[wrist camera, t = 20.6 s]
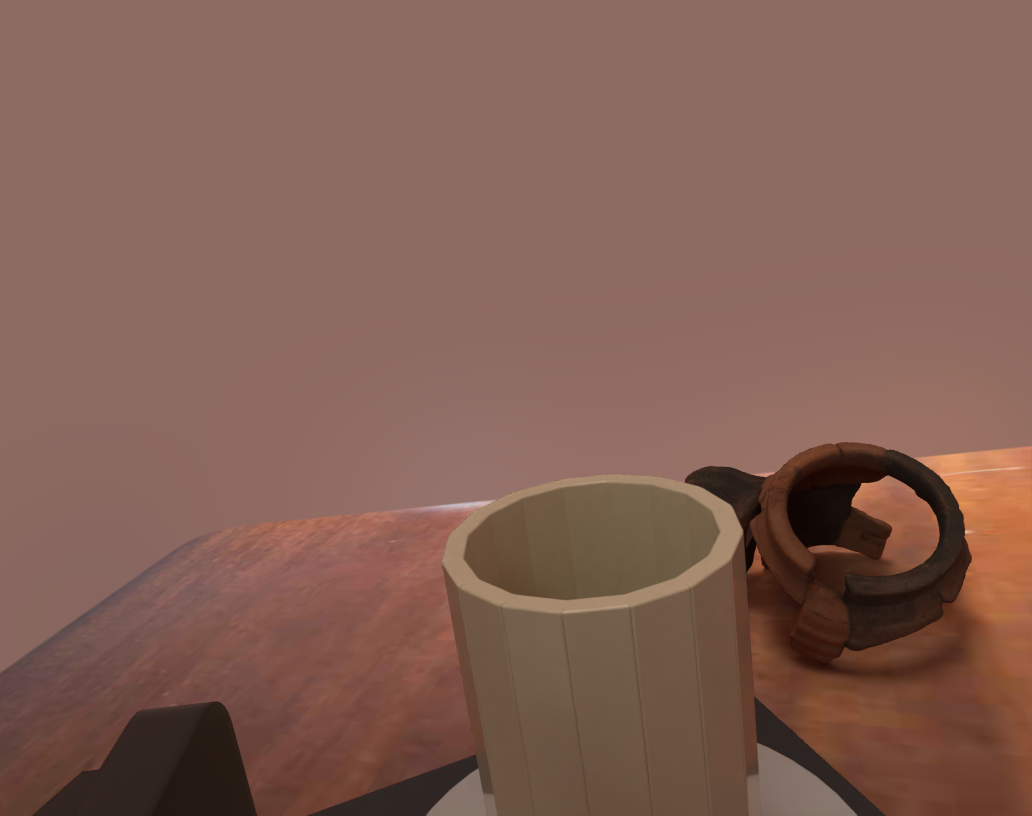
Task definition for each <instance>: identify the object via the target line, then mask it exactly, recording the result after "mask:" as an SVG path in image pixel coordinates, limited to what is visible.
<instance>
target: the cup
mask: <svg viewBox="0 0 1032 816" xmlns="http://www.w3.org/2000/svg"><path fill="white" fill-rule="evenodd" d="M442 567H443V573H444V579H445V584H446V590H447V595H448V601H449V606H450V612H451V618H452V623H453V629H454V634H455V640H456V646H457V651H458V657H459V662H460V668H461V674H462V679H463V685H464V690H465V696H466V702H467V707H468V713H469V718H470V724H471V730H472V735H473V741H474V746H475V752H476V758H477V763H478V769H479V774H480V780H481V786H482V791H483V797H484V802H485V808H486V814H487V816H762V813H761V798H760V782H759V766H758V751H757V735H756V719H755V704H754V688H753V672H752V657H751V641H750V625H749V610H748V594H747V578H746V563H745V547H744V532H743V529H742V527H741V525H740V522H739V520H738V518H737V516H736V514H735V511H734V509H733V507H732V506H731V505H730V504H729V503H727V502H725V501H724V500H722V499H720V498H719V497H717V496H715V495H714V494H712V493H710V492H709V491H707V490H705V489H704V488H701V487H699V486H696V485H691V484H687V483H683V482H679V481H675V480H671V479H667V478H662V477H657V476H638V475H616V474H611V475H608V474H607V475H598V476H588V477H581V478H580V477H579V478H570V479H561V480H557V481H553V482H549V483H545V484H542V485H538V486H534V487H531V488H527V489H523V490H520V491H516V492H513V493H510V494H509V495H506V496H504V497H502V498H500V499H498V500H496V501H494V502H492V503H490V504H488V505H486V506H484V507H482V508H480V509H478V510H476V511H475V512H473V513H472V514H471V515H469V516H468V517H467V518H466V519H465V520H464V521H463V522H462V523H461V524H460V525H459V526H458V527H457V528H456V529H455V530H454V531H453V532H452V533H450V534H449V536H448V539H447V543H446V547H445V551H444V555H443V559H442Z"/></svg>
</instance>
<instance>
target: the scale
mask: <svg viewBox="0 0 1032 816" xmlns="http://www.w3.org/2000/svg"><path fill="white" fill-rule="evenodd" d="M754 704H755V719H756V735H757V751H758V766H759V782H760V798H761V813H762V816H885V815H884V814H883V813H882V812H881V811H880V810H879V809H878V808H877V807H875V806H874V805H873V804H872V803H871V802H870V801H869V800H868V799H867V798H866V797H864V796H863V795H862V794H861V793H860V792H859V791H858V790H857V789H856V788H855V787H853V786H852V785H851V784H850V783H849V782H848V781H847V780H846V779H845V778H843V777H842V776H841V775H840V774H839V773H838V772H837V771H836V770H835V769H834V768H832V767H831V766H830V765H829V764H828V763H827V762H826V761H825V760H824V759H823V758H821V757H820V756H819V755H818V754H817V753H816V752H815V751H814V750H813V749H812V748H810V747H809V746H808V745H807V744H806V743H805V742H804V741H803V740H802V739H801V738H799V737H798V736H797V735H796V734H795V733H794V732H793V731H792V730H791V729H790V728H788V727H787V726H786V725H785V724H784V723H783V722H782V721H781V720H780V719H779V718H777V717H776V716H775V715H774V714H773V713H772V712H771V711H770V710H769V709H768V708H766V707H765V706H764V705H763V704H762V703H761V702H760V701H759V700H758V699H757V698H755V697H754ZM308 816H487V814H486V808H485V802H484V797H483V791H482V786H481V780H480V774H479V769H478V763H477V758H476V755H474V756H471V757H468V758H466V759H463V760H460V761H457V762H455V763H452V764H449V765H446V766H443V767H441V768H438V769H435V770H432V771H430V772H427V773H424V774H421V775H418V776H416V777H413V778H410V779H407V780H405V781H402V782H399V783H396V784H394V785H391V786H388V787H385V788H382V789H380V790H377V791H374V792H371V793H369V794H366V795H363V796H360V797H358V798H355V799H352V800H349V801H346V802H344V803H341V804H338V805H335V806H333V807H330V808H327V809H324V810H322V811H319V812H316V813H313V814H310V815H308Z"/></svg>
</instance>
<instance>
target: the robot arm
mask: <svg viewBox="0 0 1032 816" xmlns="http://www.w3.org/2000/svg"><path fill="white" fill-rule="evenodd" d="M33 816H257V814H256V810H255V806H254V803H253V799H252V795H251V792H250V788H249V784H248V780H247V777H246V773H245V769H244V766H243V762H242V758H241V754H240V751H239V747H238V743H237V740H236V736H235V732H234V728H233V725H232V721H231V718H230V716H229V713H228V711H227V709H226V708H225V706H224V705H223V704H221V703H220V702H207V703H198V704H190V705H181V706H173V707H164V708H155V709H147V710H141V711H139V712H137V713H136V714H135V715H134V716H133V717H132V718H131V720H130V721H129V723H128V724H127V726H126V727H125V729H124V731H123V732H122V734H121V735H120V737H119V739H118V740H117V742H116V743H115V745H114V747H113V748H112V750H111V752H110V753H109V755H108V756H107V758H106V760H105V761H104V763H103V764H102V766H101V768H100V769H99V770H92V771H83V772H81V773H80V774H79V775H78V776H77V777H76V778H74V779H73V780H72V781H71V782H70V783H69V784H68V785H66V786H65V787H64V788H63V789H62V790H61V791H60V792H59V793H57V794H56V795H55V796H54V797H53V798H52V799H51V800H49V801H48V802H47V803H46V804H45V805H44V806H43V807H41V808H40V809H39V810H38V811H37V812H36V813H35V814H34V815H33Z"/></svg>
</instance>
